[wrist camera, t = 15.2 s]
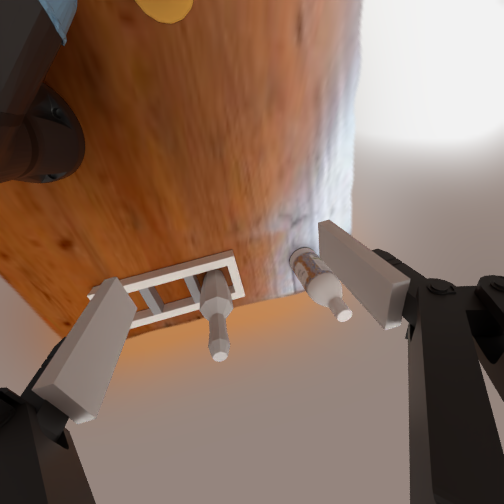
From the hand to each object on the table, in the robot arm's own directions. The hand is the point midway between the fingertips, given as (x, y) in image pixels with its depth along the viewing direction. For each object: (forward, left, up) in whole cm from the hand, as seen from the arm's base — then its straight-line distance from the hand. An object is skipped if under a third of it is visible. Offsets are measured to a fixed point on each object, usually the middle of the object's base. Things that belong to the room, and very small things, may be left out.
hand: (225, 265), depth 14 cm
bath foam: (+28, -10, -33) cm, 44 cm away
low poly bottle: (+9, -22, -33) cm, 41 cm away
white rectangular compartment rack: (+1, -28, -33) cm, 43 cm away
